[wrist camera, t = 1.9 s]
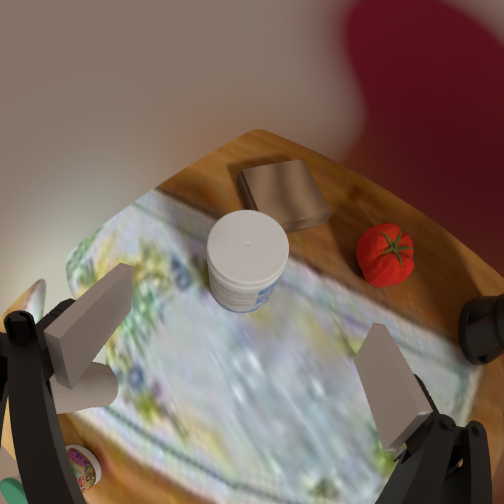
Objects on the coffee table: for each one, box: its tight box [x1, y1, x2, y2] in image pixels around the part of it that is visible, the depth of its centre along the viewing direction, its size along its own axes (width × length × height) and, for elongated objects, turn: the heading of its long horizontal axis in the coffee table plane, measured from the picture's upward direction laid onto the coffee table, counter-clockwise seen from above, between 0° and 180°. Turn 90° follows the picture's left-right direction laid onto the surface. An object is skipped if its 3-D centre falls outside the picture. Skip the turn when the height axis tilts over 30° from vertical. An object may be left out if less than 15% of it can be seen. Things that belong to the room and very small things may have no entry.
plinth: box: [237, 159, 331, 234], centre depth 50 cm, size 13×13×4 cm
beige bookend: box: [50, 362, 118, 414], centre depth 26 cm, size 7×14×20 cm, turn 97°
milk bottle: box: [0, 445, 101, 504], centre depth 20 cm, size 8×8×20 cm
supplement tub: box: [206, 210, 289, 314], centre depth 38 cm, size 10×10×15 cm
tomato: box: [356, 223, 416, 287], centre depth 45 cm, size 11×11×9 cm
